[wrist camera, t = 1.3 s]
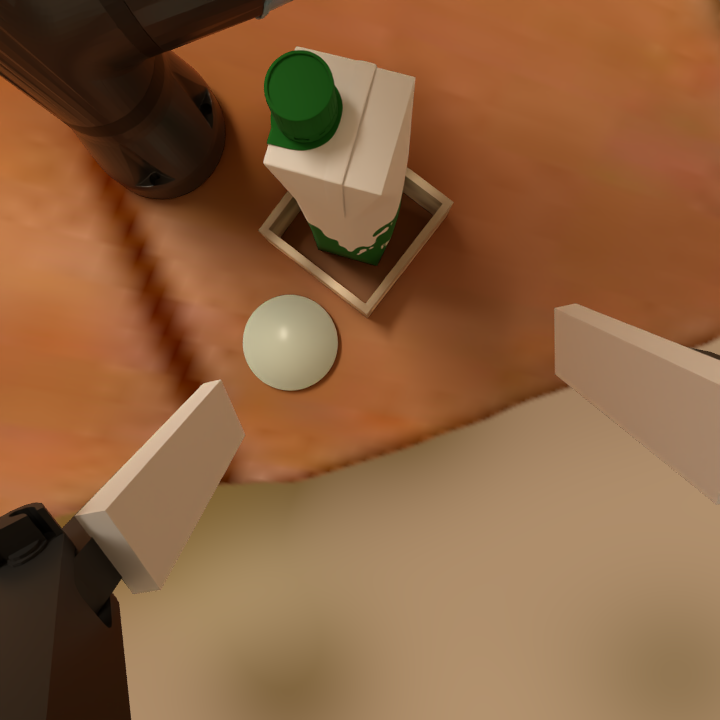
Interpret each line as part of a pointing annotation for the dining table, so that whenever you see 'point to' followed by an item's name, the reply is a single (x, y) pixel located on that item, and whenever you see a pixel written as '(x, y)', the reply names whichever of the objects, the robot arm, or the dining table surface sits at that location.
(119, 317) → the dining table surface
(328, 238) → the soya milk
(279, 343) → the pale green disc
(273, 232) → the dock
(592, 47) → the dining table surface
